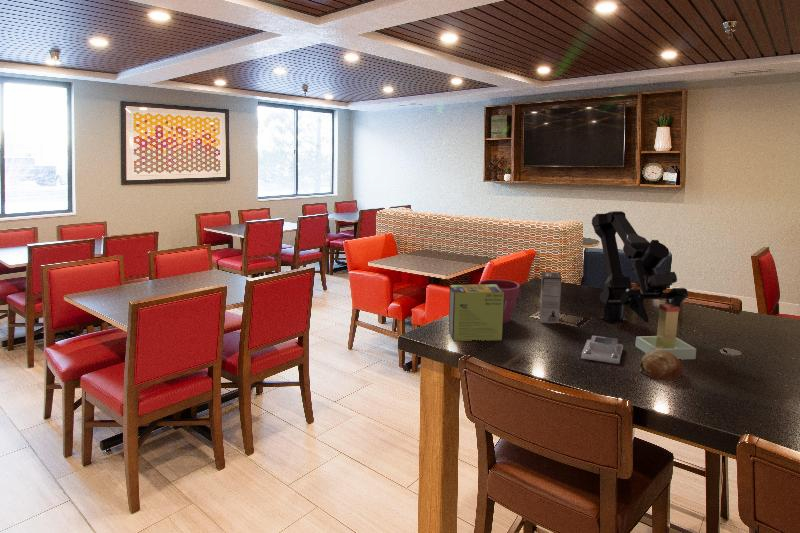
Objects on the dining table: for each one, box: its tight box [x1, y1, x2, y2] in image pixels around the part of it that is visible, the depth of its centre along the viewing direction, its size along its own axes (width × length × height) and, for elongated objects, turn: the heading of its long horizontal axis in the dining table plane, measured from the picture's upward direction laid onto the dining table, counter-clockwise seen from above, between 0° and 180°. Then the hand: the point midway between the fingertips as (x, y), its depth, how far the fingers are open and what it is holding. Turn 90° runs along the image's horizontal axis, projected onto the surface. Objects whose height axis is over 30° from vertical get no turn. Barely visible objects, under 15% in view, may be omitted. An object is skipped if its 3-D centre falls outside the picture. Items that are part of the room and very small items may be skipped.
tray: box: [634, 335, 697, 360], centre depth 160 cm, size 12×12×3 cm
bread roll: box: [639, 350, 683, 381], centre depth 145 cm, size 10×10×8 cm
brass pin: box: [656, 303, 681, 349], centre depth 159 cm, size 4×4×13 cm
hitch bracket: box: [580, 335, 624, 365], centre depth 159 cm, size 13×10×4 cm
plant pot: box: [478, 278, 521, 324], centre depth 191 cm, size 14×14×13 cm
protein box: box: [448, 284, 504, 342], centre depth 173 cm, size 10×15×16 cm
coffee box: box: [539, 271, 562, 324], centre depth 190 cm, size 9×6×16 cm
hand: (662, 321), depth 161 cm, fingers open, 9 cm apart
